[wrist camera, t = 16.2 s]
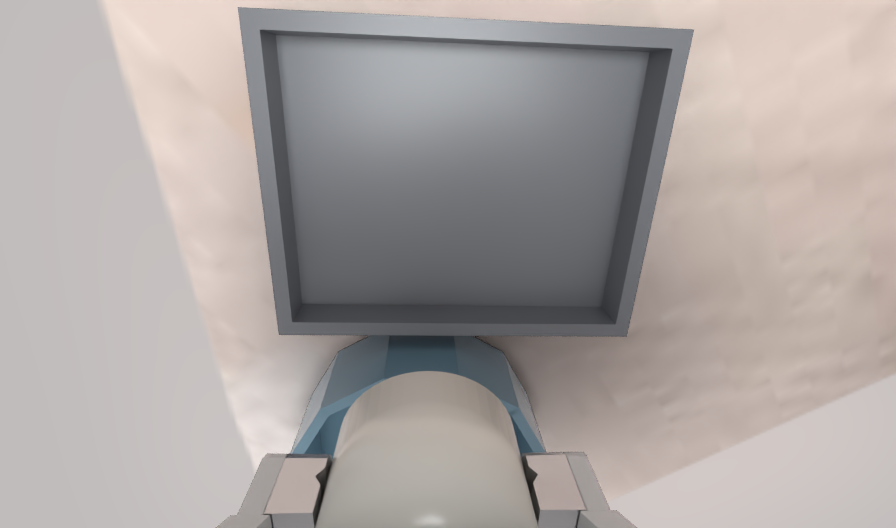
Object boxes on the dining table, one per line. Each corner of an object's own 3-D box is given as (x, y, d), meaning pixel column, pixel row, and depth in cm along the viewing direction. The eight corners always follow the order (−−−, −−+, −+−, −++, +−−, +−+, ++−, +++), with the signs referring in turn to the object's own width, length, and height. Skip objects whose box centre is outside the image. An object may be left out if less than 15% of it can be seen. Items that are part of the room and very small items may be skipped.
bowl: (535, 326, 29) (559, 378, 24) (514, 491, 34) (530, 562, 29) (304, 324, 28) (278, 378, 23) (321, 495, 33) (303, 568, 28)
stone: (522, 371, 11) (561, 489, 8) (506, 505, 13) (532, 646, 9) (333, 370, 11) (294, 491, 7) (343, 507, 12) (315, 652, 9)
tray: (660, 36, 22) (694, 29, 20) (606, 312, 28) (626, 336, 26) (262, 17, 21) (237, 7, 19) (293, 309, 27) (279, 334, 25)
